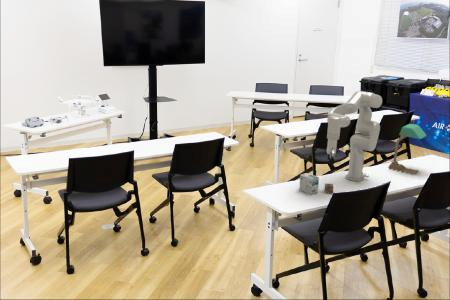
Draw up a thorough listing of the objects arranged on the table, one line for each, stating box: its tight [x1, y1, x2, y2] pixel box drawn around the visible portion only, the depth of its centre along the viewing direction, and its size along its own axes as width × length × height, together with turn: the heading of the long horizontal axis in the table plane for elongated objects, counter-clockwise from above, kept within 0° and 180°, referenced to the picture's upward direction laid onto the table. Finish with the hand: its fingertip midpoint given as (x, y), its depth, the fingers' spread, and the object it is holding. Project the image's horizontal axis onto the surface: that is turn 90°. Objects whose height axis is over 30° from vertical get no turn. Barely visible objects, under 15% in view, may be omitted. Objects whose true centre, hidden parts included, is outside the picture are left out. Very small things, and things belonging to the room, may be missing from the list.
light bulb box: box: [298, 172, 320, 195], centre depth 291 cm, size 11×7×11 cm, turn 40°
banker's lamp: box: [387, 123, 427, 175], centre depth 334 cm, size 16×21×35 cm
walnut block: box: [323, 183, 334, 195], centre depth 291 cm, size 5×5×5 cm
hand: (330, 162), depth 286 cm, fingers open, 9 cm apart
